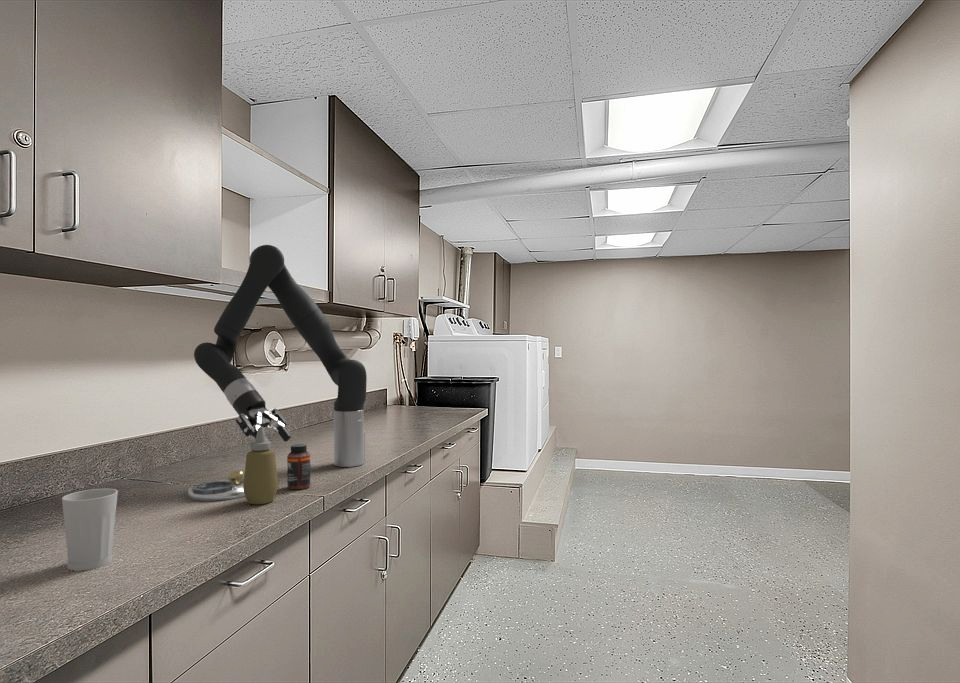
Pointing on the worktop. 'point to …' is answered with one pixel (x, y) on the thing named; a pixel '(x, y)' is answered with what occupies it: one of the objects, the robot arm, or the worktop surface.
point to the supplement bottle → (298, 467)
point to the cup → (89, 527)
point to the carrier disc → (219, 488)
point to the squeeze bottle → (260, 471)
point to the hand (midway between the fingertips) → (277, 442)
